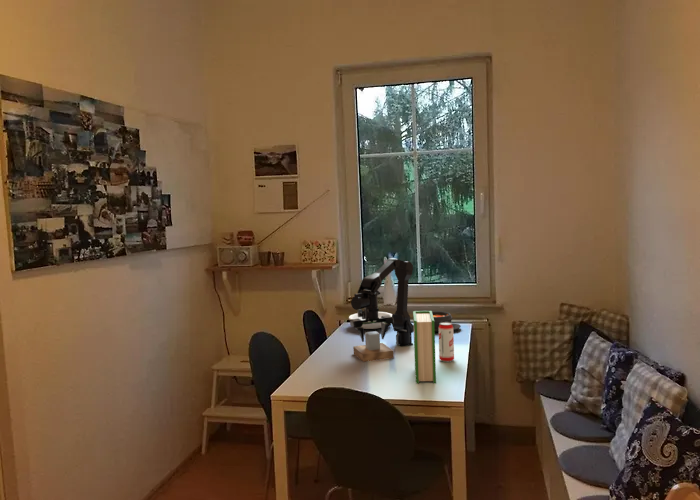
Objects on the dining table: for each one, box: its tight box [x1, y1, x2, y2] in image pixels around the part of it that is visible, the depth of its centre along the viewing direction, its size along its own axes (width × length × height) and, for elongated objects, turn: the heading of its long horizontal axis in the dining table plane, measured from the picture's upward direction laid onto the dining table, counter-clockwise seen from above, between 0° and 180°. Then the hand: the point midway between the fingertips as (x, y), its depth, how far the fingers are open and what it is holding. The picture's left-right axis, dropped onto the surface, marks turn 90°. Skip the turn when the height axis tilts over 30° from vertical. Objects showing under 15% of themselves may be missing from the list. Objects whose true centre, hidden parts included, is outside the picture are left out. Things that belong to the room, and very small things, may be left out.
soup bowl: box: [348, 311, 393, 330], centre depth 305 cm, size 24×24×7 cm
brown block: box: [352, 342, 395, 363], centre depth 253 cm, size 14×14×4 cm
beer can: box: [438, 322, 455, 363], centre depth 240 cm, size 6×6×16 cm
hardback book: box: [412, 310, 437, 385], centre depth 221 cm, size 18×7×24 cm, turn 175°
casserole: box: [412, 310, 461, 333], centre depth 296 cm, size 25×19×8 cm
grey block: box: [364, 330, 381, 351], centre depth 252 cm, size 5×5×7 cm
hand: (372, 340), depth 252 cm, fingers open, 9 cm apart
